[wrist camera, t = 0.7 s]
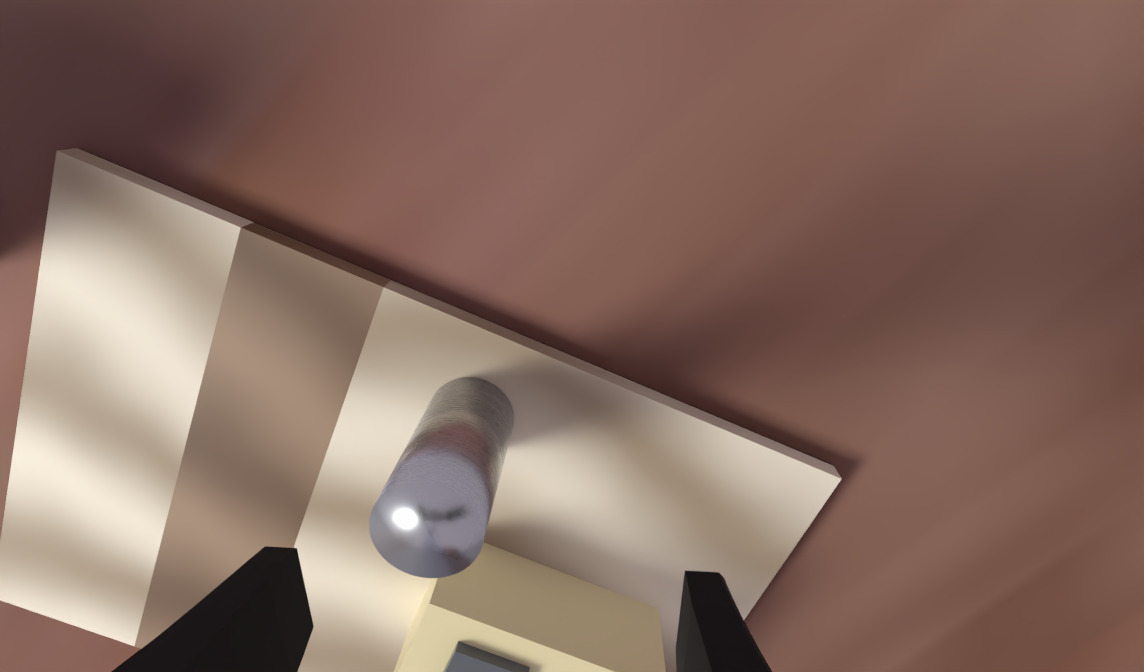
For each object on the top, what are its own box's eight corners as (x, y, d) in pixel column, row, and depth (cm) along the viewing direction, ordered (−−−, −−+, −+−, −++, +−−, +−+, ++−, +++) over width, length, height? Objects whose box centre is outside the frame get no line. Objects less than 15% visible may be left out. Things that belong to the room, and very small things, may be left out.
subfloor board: (612, 792, 29) (612, 810, 28) (9, 582, 26) (-8, 597, 25) (833, 465, 23) (841, 478, 22) (76, 147, 20) (56, 150, 19)
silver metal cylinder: (495, 465, 22) (460, 593, 17) (417, 434, 22) (354, 553, 16) (527, 397, 21) (500, 508, 16) (445, 364, 21) (389, 464, 15)
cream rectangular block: (602, 700, 26) (601, 801, 22) (408, 630, 25) (375, 723, 21) (658, 609, 24) (669, 702, 21) (453, 530, 23) (426, 613, 20)
